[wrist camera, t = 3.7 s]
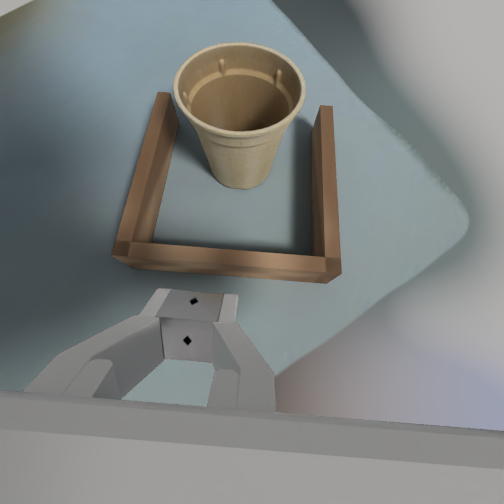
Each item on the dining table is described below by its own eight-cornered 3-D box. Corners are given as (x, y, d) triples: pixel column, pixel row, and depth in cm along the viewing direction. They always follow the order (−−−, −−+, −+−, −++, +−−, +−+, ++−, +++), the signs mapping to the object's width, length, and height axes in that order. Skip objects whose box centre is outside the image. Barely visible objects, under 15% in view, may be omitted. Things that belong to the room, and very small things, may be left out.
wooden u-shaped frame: (131, 268, 21) (111, 255, 18) (168, 121, 27) (157, 91, 24) (326, 283, 21) (341, 273, 18) (321, 134, 27) (332, 106, 24)
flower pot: (222, 119, 27) (213, 26, 19) (299, 149, 26) (324, 64, 18) (178, 181, 24) (146, 103, 16) (263, 218, 23) (274, 154, 15)
